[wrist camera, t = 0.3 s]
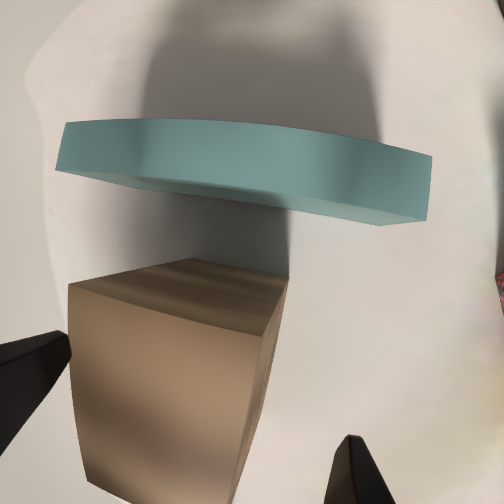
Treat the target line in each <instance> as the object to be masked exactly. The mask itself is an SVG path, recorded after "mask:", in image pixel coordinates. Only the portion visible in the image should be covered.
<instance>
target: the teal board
mask: <svg viewBox="0 0 504 504" xmlns="http://www.w3.org/2000/svg"><path fill="white" fill-rule="evenodd" d="M431 168H432V156H429V155H425V154H422V153H418V152H414V151H410V150H406V149H402V148H398V147H394V146H390V145H385V144H381V143H376V142H372V141H367V140H362V139H357V138H352V137H347V136H341V135H336V134H330V133H324V132H318V131H311V130H304V129H297V128H290V127H282V126H274V125H265V124H255V123H244V122H231V121H217V120H197V119H112V120H93V121H79V122H67V123H66V125H65V129H64V132H63V137H62V141H61V145H60V150H59V154H58V159H57V164H56V169H55V170H57V171H61V172H66V173H71V174H75V175H80V176H84V177H89V178H93V179H98V180H102V181H106V182H111V183H115V184H119V185H124V186H128V187H132V188H137V189H146V190H154V191H163V192H171V193H179V194H187V195H195V196H203V197H210V198H217V199H224V200H231V201H238V202H245V203H252V204H258V205H264V206H271V207H277V208H283V209H289V210H295V211H301V212H307V213H313V214H318V215H324V216H330V217H335V218H340V219H346V220H351V221H356V222H361V223H367V224H372V225H377V226H382V225H391V224H400V223H410V222H419V221H426V218H427V210H428V201H429V192H430V181H431Z"/></svg>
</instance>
